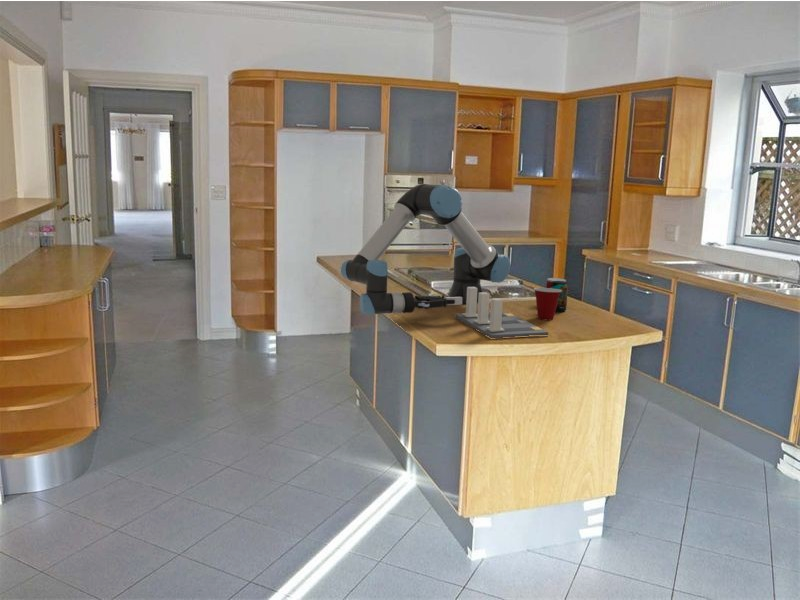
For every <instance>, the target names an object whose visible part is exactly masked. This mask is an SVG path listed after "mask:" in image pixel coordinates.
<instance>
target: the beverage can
mask: <svg viewBox="0 0 800 600" xmlns="http://www.w3.org/2000/svg"><path fill="white" fill-rule="evenodd" d="M550 288H552V289H559V290H562V292H561V293H560V295H559V299H558V303H557V307H556V311H555V313H564V312H566V311H567V303H568V292H569V289H568V288H569V286H568V284H567V281H566V282H564V281H553V282H552V284H551V286H550Z"/></svg>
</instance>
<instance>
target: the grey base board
mask: <svg viewBox="0 0 800 600" xmlns="http://www.w3.org/2000/svg"><path fill="white" fill-rule="evenodd" d="M490 312H491V311H489V314H488V321H490ZM476 314H478V312H476ZM455 318H456V319H457V320H458V321H460V322H462V323H463V322H464V323H463V324H465V325H467V326H468V325H469V326H468V327H470V326H471V327H470V328H472V327H473V328H475V329H477V330H479V331H480V332H482V333H483V334H485V335H487V336H489V337H490V338H503V337H515V336H529V335H548V336H549V331H547V330H545V329H543V328H541V327H539V326H536V325H535V324H533V323H531V322H529V321H527V320H525V319H523V318H521V317H519V316H517V315H514V314H513V313H511V312H509V311H502V321H501V328H503V329H504V331H496V332H491V331H489V330H487V329H486V327H490V324H477V323H476V322H474V320H477V317H465V316H464V315H463V313H455ZM473 328H472V329H473ZM475 329H474V330H475ZM477 330H476V331H477ZM480 332H479V333H480ZM483 334H482V335H483ZM485 335H484V336H485ZM490 338H489V339H490Z"/></svg>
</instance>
